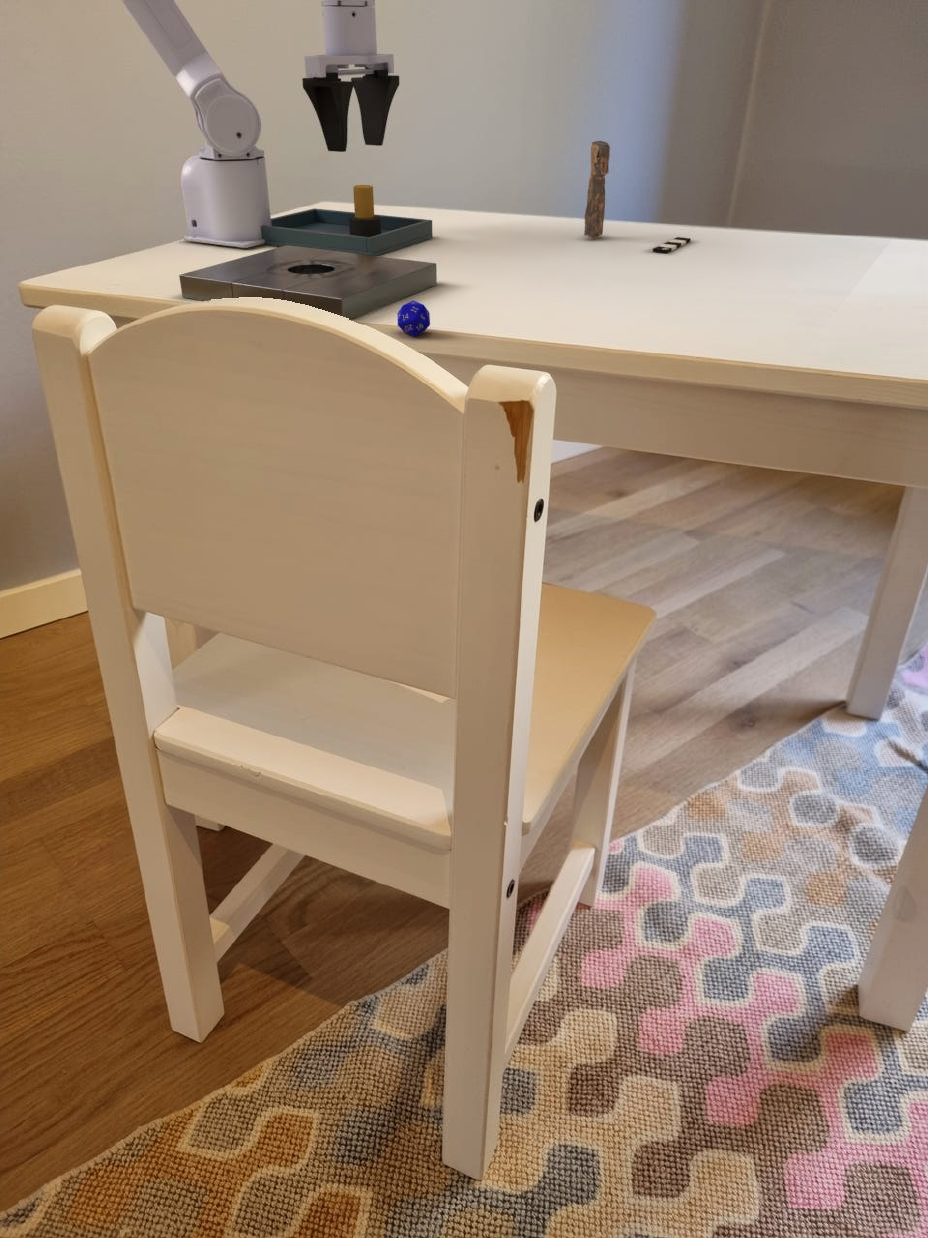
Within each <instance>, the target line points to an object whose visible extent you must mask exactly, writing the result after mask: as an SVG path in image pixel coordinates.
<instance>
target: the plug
mask: <svg viewBox="0 0 928 1238" xmlns="http://www.w3.org/2000/svg"><path fill="white" fill-rule="evenodd" d="M352 189H353V191H352V192H353V205H354V207H353V208H354V212H355V215H354V216H350V217H349V230H350V235H355V236H364V237H372V236H375V235H379V234H381V217H380V216H377V215H378V214H376V215H374V214H375V202H374V201H375V200H374V198H375V197H374V186H373V185H371V184H357V185H353V187H352Z"/></svg>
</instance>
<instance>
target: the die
mask: <svg viewBox="0 0 928 1238" xmlns="http://www.w3.org/2000/svg"><path fill="white" fill-rule="evenodd" d="M397 326H398V328H400V330H401V331H402V333H404V334H407V335H409V336H411V337H413V338H415V337H418V336H419V335H422V334H423V333H425V332H426V331H427V329H428V328H429V327H430V326H431V314H430V311H429V310H428V309H427V307H426V305H425V304H423V303H421V302H418V301H416V300H411V301H408V302H406V303H404V304H403V305H402V306H401V307H400V309H399V310H398V311H397Z"/></svg>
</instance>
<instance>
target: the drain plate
mask: <svg viewBox="0 0 928 1238" xmlns="http://www.w3.org/2000/svg"><path fill="white" fill-rule="evenodd" d="M437 271H438V270H437V263H436V262H429V261H421V260H411V259H404V258H396V257H387V256H381V255H379V256H372V255H364V254H356V253H347V252H339V251H331V250H323V249H314V248H306V247H298V246H290V245H286V246H282V247H279V246H278V247H275V248H272V249H271V248H270V249H269V250H265V251H261V252H257V253H254V254H250V255H246V256H243V257H240V258H235V259H232V260H228V261H225V262H221V263H217V264H214V265H211V266H207V267H203V268H199V269H195V270H192V271H189V272H185V273H181V274H179V275H178V277H179V283H180V290H181V297H182V298H185V299H192V300H198V301H204V300H211V299H222V298H239V297H262V298H273V299H281V300H287V301H292V302H295V303H300V304H305V305H309V306H312V307H315V308H318V309H322V310H325V311H328V312H331V313H334V314H337V315H340V316H343V317H346V318H349V319H350V320H353V319H356V318H358V317H360V316H363V315H365V314H368V313H370V312H373V311H375V310H377V309H380V308H382V307H385V306H386V305H390V304H392V303H396V302H397V301H400V300H402V299H404V298H407V297H409V296H412V295H414V294H417V293H419V292H422V291H425V290H427V289H430V288H432V287H434V286H437V284H438V282H437V281H438V278H437V274H438V273H437Z"/></svg>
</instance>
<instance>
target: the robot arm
mask: <svg viewBox="0 0 928 1238" xmlns="http://www.w3.org/2000/svg"><path fill="white" fill-rule="evenodd" d="M120 1H121V2H122V4H123V5H124V7H125V8H126V10H127V11H128V12H129V14H130V15H131V17H132V18H133V20H134V21H135V22H136V24H137V25H138V27H139V28H140V30H141V31H142V33H143V34H144V36H145V38H147V40H148V42H149V43H150V44H151V46H152V47H153V49H154V51H155V52H156V54H157V55H158V56H159V58H160V59H161V61H162V62H163V63H164V65H165V66H166V67H167V69H168V71H169V72H170V74H171V75H172V76H173V78H174V79H175V81H176V82H177V83H178V85H179V86H180V88H181V89H182V91H183V92H184V94H185V95H186V97H187V98H188V100H189V101H190V103H191V105H192V107H193V110H194V112H195V118H196V122H197V125H198V128H199V130H200V132H201V133H202V135H203V137H204V138H205V140H206V141H205V142H204V144H203V146H202V147H201V148H199V149H198V154H195V155H192V156H190V157H188V159H186V161H185V162H184V164H183V166H182V169H181V173H180V187H181V195H182V200H183V201H182V202H183V206H184V207H183V208H184V215H185V223H186V229H187V234H188V235H184V236H183V240H184V241H187V242H195V243H201V244H202V243H203V244H210V245H218V246H227V247H233V248H234V247H235V248H241V249H247V248H248V249H249V248H252V247H256V246H259V245H260V246H261V245H263V244H264V243H265V239H262V234H261V226H263V225H265V226H271V218H272V217H271V207H270V196H269V188H268V177H267V168H266V166H267V165H266V158H265V150H263V149H261V148H258V147H257V146H256V145H257V144H258V141H259V139H260V136H261V133H262V122H261V117H260V113H259V110H258V109H257V106H256V104H254V102H253V101H252V100H251V99H250V98H249V97H248V96H247V95H246V94H245V93H242V92H241V91H240V90H238V89H236V88H235V87H234V86H233V85H232V84H231V83H230V82H229V80H228V79H227V77H226V76H225V74H224V72H222V70H221V68H220V67H219V66H218V65H217V62H216V61H215V60H214V59H213V57H212V56H211V55H210V52H208V50H207V48H206V47H205V46H204V44H203V43H202V41H201V40H200V38H199V36H198V35H197V34H196V32H195V30H194V29H193V27H192V26H191V24H190V23H189V21H188V20H187V18H186V17H185V15H184V13H183V12H182V11H181V8H180V7H179V5H178V4H177V2H176V1H175V0H120ZM321 6H322V7H321V15H322V28H323V43H324V45H323V46H324V54H318V55H317V54H315V55H305V56H304V68H305V70H304V71H305V77H302V79H301V80H302V89H303V90H304V92H305V94H306V95H307V97H308V99H309V101H310V102H311V105H312V106H313V109H314V111H315V114H316V116H317V119H318V122H319V125H320V128H321V131H322V134H323V139H324V141H325V145H326V149H327V151H328V152H337V153H346V152H347V147H348V122H349V121H348V119H349V118H348V117H349V108H350V102H351V97H352V93H353V90H354V92H355V95H356V100H357V103H358V107H359V112H360V120H361V129H362V137H363V142H364V145H365V146H376V147H377V146H379V147H380V146H383V144H384V140H385V134H386V129H387V123H388V117H389V114H390V110H391V106H392V102H393V100H394V98H395V95H396V93H397V90H398V89H399V86H400V75H396V74H395V75H394V73H395V64H394V61H395V60H394V54H393V53H378V45H377V24H376V23H377V21H376V20H377V19H376V0H321ZM350 65H351V66H352V65H353V66H354V68H357V69H350ZM358 68H359V69H358ZM391 74H393V75H391ZM358 75H360V76H358ZM361 75H362V76H361ZM342 76H343V77H344V76H356V77H351V79H350V81H349V80H342V78H340V77H342Z"/></svg>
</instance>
